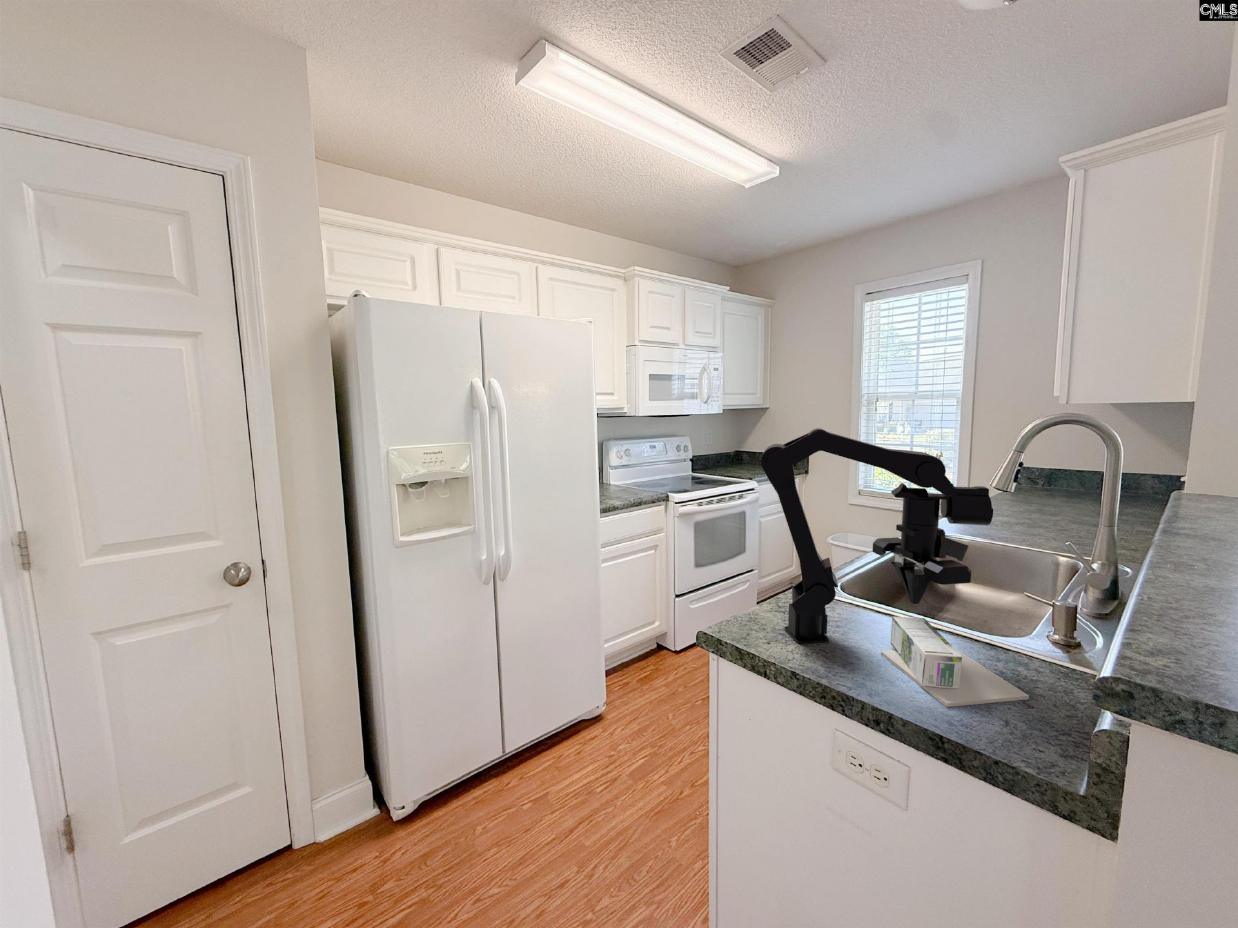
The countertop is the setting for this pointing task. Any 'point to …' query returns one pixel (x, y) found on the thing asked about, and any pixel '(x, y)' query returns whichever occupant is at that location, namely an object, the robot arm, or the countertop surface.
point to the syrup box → (926, 652)
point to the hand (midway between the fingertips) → (914, 603)
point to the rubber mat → (966, 684)
